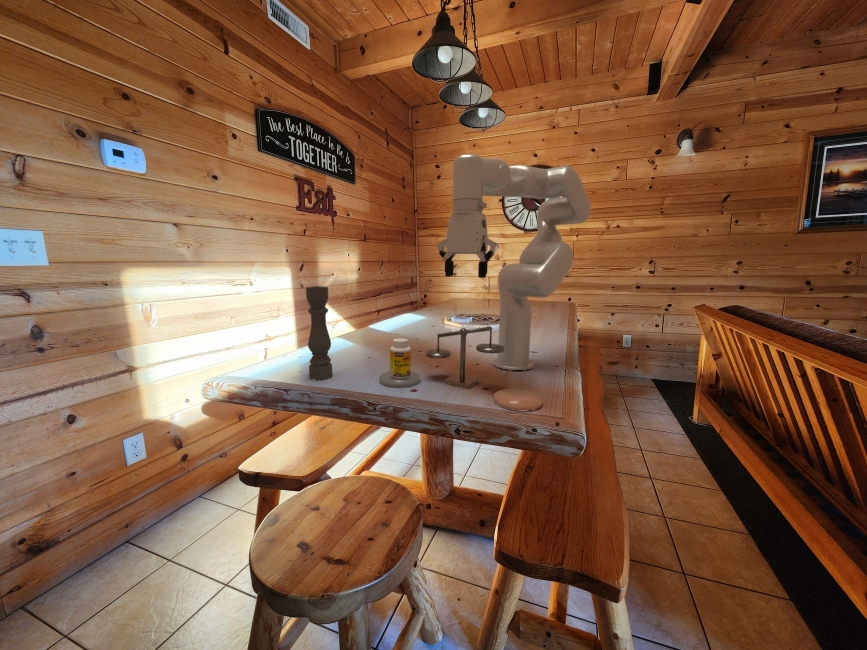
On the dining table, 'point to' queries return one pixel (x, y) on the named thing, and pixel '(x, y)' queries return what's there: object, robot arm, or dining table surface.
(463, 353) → the balance
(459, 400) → the dining table surface
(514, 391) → the terracotta dish
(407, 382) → the slate dish
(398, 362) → the supplement bottle
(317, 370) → the candle holder
